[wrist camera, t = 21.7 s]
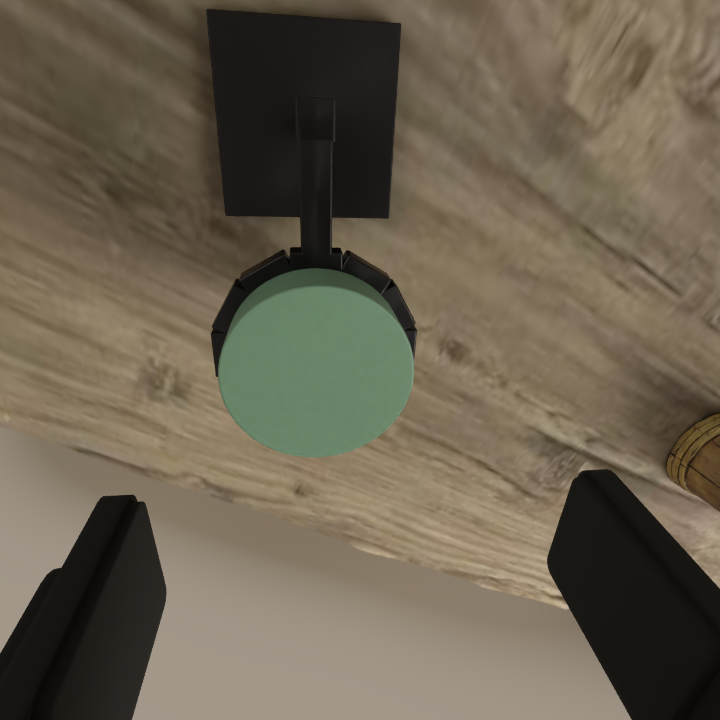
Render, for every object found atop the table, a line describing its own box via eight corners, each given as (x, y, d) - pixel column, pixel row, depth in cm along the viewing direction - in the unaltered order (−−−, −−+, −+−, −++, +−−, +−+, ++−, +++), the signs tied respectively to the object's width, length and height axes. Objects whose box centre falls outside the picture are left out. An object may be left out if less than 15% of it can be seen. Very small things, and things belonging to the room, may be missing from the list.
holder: (397, 27, 24) (475, -56, 14) (379, 335, 33) (419, 431, 22) (209, 13, 23) (136, -90, 13) (239, 337, 31) (210, 441, 21)
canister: (374, 227, 26) (423, 285, 16) (368, 344, 30) (406, 453, 20) (242, 225, 25) (206, 286, 15) (251, 347, 29) (227, 462, 19)
